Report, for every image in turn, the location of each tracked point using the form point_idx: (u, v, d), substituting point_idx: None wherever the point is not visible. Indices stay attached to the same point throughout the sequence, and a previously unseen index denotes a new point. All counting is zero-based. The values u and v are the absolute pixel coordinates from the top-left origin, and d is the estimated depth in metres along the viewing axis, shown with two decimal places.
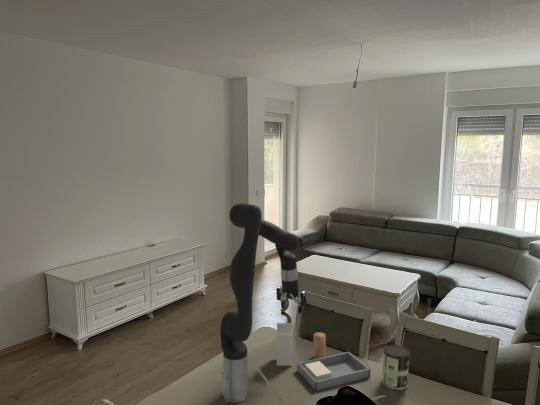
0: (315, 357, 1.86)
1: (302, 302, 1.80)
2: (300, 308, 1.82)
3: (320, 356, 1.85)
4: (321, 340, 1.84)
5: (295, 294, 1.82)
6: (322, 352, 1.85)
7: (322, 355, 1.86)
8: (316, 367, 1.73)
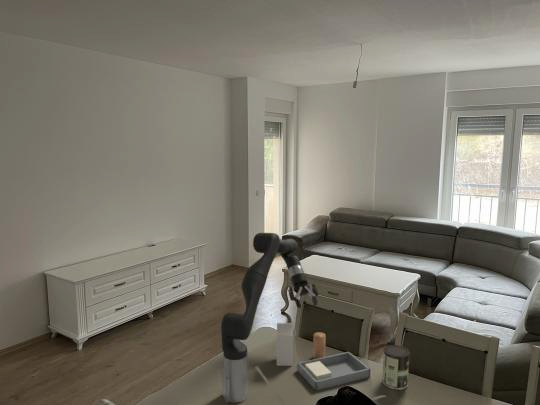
0: (315, 357, 1.86)
1: (316, 292, 2.01)
2: (315, 299, 1.99)
3: (320, 356, 1.85)
4: (321, 340, 1.84)
5: (308, 287, 2.02)
6: (322, 352, 1.85)
7: (322, 355, 1.86)
8: (316, 367, 1.73)
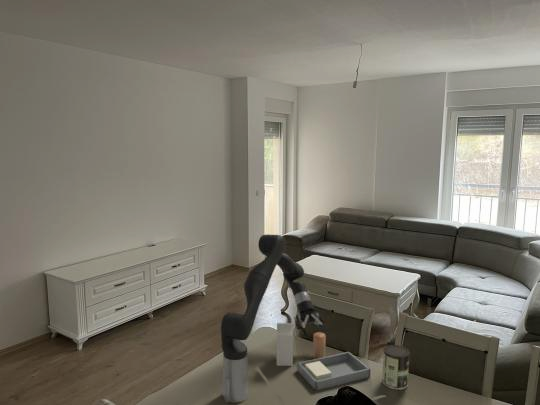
0: (315, 357, 1.86)
1: (323, 320, 1.96)
2: (322, 327, 1.94)
3: (320, 356, 1.85)
4: (321, 340, 1.84)
5: (315, 315, 1.96)
6: (322, 352, 1.85)
7: (322, 355, 1.86)
8: (316, 367, 1.73)
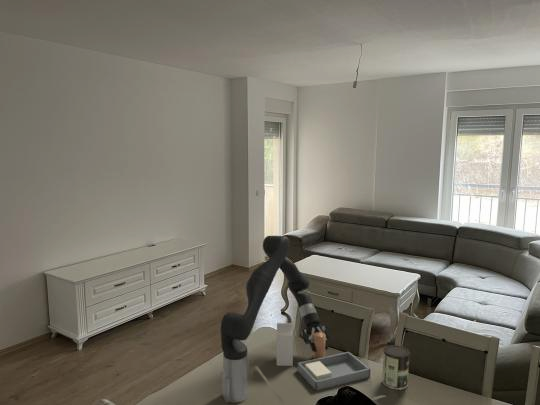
0: (315, 357, 1.86)
1: (328, 334, 1.91)
2: (326, 342, 1.88)
3: (320, 356, 1.85)
4: (321, 340, 1.84)
5: (321, 328, 1.92)
6: (322, 352, 1.85)
7: (322, 355, 1.86)
8: (316, 367, 1.73)
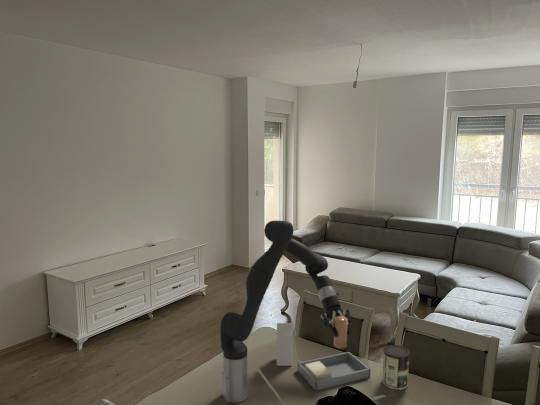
0: (336, 342, 1.74)
1: (349, 318, 1.78)
2: (348, 327, 1.76)
3: (342, 341, 1.73)
4: (343, 324, 1.72)
5: (342, 312, 1.79)
6: (344, 337, 1.73)
7: (344, 340, 1.73)
8: (316, 367, 1.73)
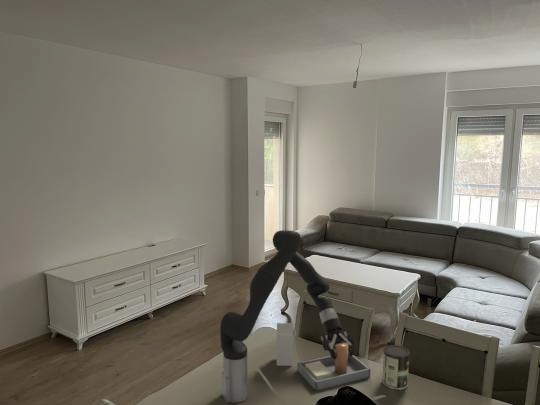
0: (337, 369, 1.75)
1: (352, 339, 1.79)
2: (351, 348, 1.77)
3: (342, 368, 1.74)
4: (343, 350, 1.73)
5: (343, 334, 1.80)
6: (345, 363, 1.74)
7: (345, 366, 1.74)
8: (316, 367, 1.73)
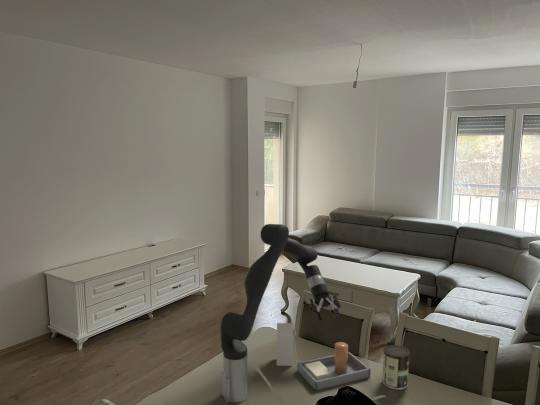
0: (337, 369, 1.75)
1: (338, 304, 1.89)
2: (337, 311, 1.86)
3: (342, 368, 1.74)
4: (343, 350, 1.73)
5: (329, 298, 1.89)
6: (344, 363, 1.74)
7: (344, 367, 1.74)
8: (316, 367, 1.73)
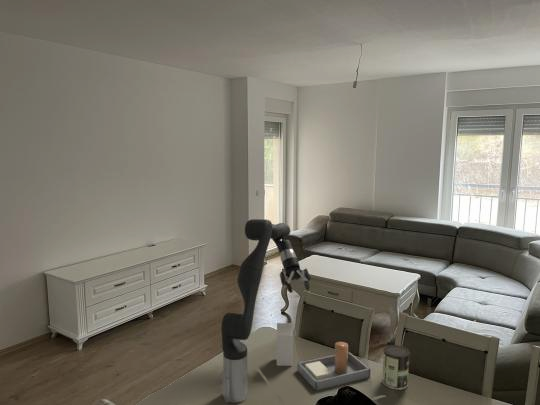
0: (337, 368, 1.75)
1: (309, 276, 1.95)
2: (307, 283, 1.93)
3: (342, 367, 1.74)
4: (343, 350, 1.73)
5: (300, 271, 1.95)
6: (344, 363, 1.74)
7: (344, 366, 1.74)
8: (316, 367, 1.73)
